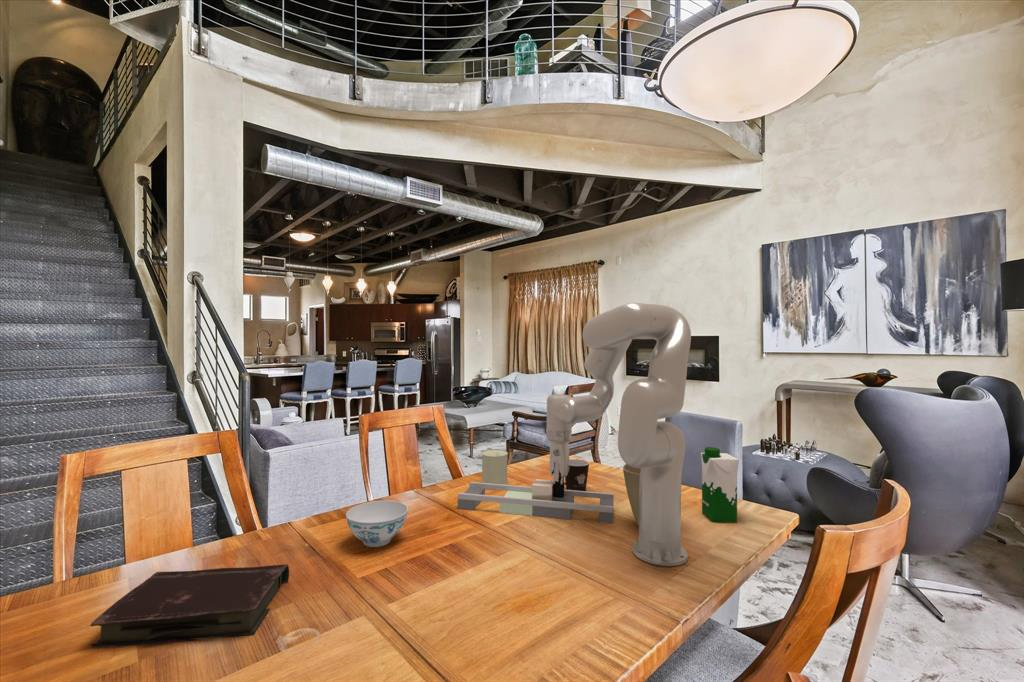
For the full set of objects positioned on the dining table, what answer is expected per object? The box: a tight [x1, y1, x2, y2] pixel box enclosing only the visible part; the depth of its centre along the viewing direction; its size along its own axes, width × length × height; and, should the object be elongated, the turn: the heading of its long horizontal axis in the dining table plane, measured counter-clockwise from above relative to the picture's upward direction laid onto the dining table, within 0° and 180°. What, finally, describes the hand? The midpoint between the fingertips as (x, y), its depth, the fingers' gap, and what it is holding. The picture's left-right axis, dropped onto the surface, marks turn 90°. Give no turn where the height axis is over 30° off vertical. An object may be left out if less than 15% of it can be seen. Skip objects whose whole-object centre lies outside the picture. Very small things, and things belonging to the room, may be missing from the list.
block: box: [531, 478, 554, 501], centre depth 137 cm, size 6×6×5 cm
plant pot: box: [622, 463, 641, 527], centre depth 125 cm, size 15×15×16 cm
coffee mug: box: [564, 458, 590, 491], centre depth 153 cm, size 12×9×10 cm
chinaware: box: [345, 500, 409, 548], centre depth 114 cm, size 15×15×8 cm
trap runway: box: [457, 481, 615, 524], centre depth 137 cm, size 12×46×4 cm, turn 77°
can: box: [481, 449, 509, 491], centre depth 159 cm, size 9×9×12 cm
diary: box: [89, 563, 290, 649], centre depth 84 cm, size 19×25×5 cm
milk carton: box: [700, 446, 740, 523], centre depth 131 cm, size 9×9×20 cm
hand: (558, 496), depth 136 cm, fingers closed
